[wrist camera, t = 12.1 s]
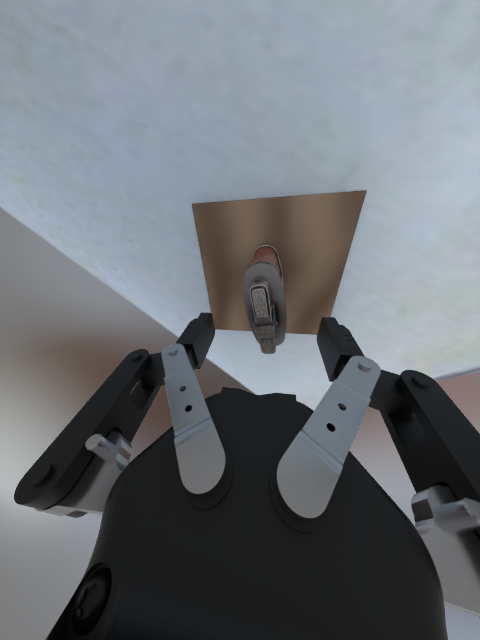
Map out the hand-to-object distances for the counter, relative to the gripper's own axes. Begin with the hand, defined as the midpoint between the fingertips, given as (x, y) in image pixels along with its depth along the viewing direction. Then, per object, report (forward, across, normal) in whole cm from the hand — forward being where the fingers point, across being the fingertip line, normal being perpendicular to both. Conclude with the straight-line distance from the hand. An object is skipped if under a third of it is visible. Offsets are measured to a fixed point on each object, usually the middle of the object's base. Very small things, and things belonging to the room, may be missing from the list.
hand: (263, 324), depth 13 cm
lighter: (+10, 0, 0) cm, 10 cm away
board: (+10, 0, 0) cm, 10 cm away
